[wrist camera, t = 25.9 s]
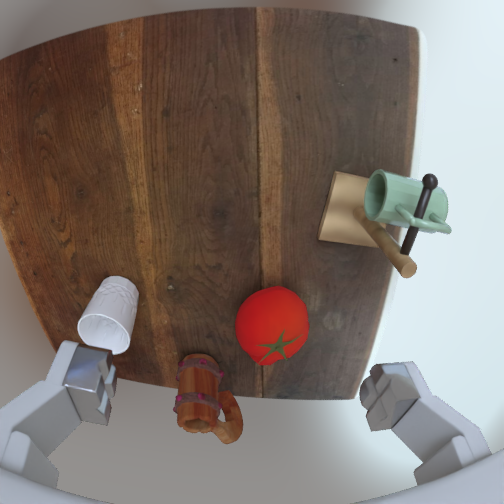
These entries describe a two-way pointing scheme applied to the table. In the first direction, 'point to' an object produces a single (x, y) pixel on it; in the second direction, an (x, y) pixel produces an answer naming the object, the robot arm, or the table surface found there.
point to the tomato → (272, 325)
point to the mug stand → (363, 230)
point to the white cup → (110, 315)
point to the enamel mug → (404, 203)
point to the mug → (205, 399)
